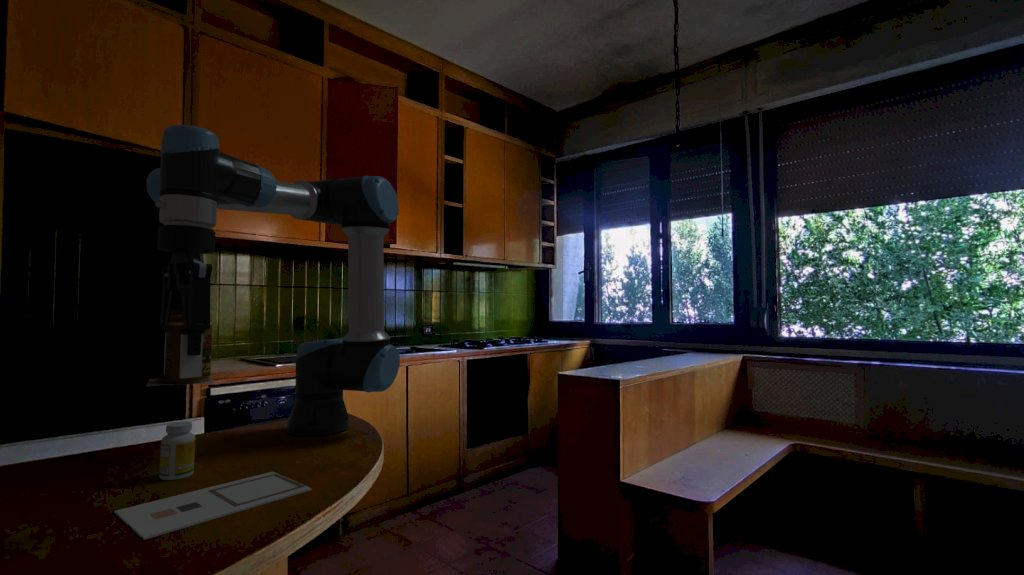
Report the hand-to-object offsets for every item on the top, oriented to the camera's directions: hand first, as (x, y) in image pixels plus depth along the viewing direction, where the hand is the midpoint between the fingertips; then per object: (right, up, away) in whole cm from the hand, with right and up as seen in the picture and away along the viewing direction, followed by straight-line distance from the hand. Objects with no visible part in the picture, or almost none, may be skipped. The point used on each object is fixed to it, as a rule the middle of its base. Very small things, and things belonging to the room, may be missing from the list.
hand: (182, 375), depth 76 cm
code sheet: (+4, -21, +4) cm, 22 cm away
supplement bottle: (-11, -22, +15) cm, 29 cm away
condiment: (0, -1, 0) cm, 1 cm away
